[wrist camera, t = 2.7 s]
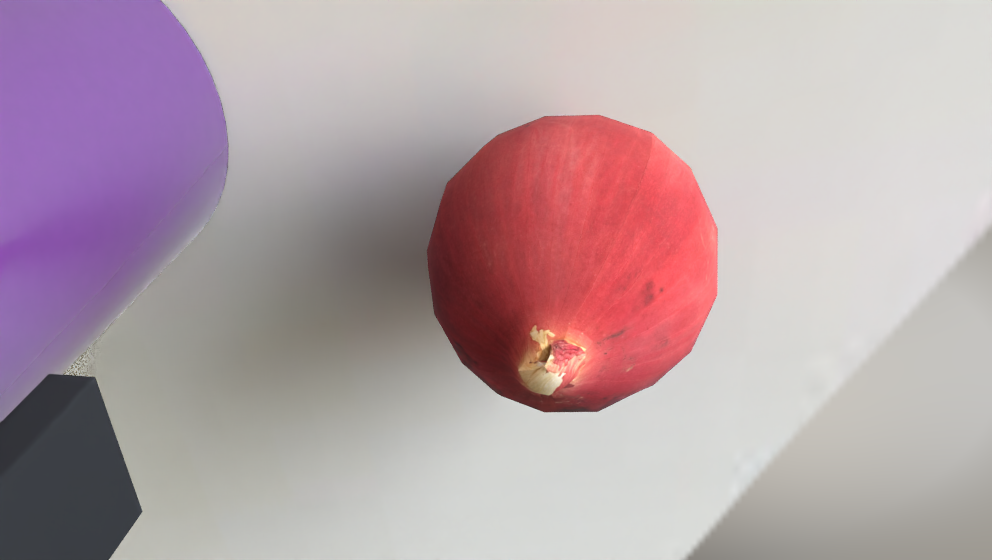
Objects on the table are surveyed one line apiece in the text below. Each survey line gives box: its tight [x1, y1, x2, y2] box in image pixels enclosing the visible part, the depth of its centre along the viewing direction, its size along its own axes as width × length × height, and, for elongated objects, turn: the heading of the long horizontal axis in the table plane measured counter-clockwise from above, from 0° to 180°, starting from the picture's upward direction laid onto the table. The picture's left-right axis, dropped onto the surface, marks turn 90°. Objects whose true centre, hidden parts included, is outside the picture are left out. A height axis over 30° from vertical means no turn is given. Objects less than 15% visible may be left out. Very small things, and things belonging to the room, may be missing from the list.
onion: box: [427, 115, 717, 412], centre depth 18 cm, size 6×6×8 cm
